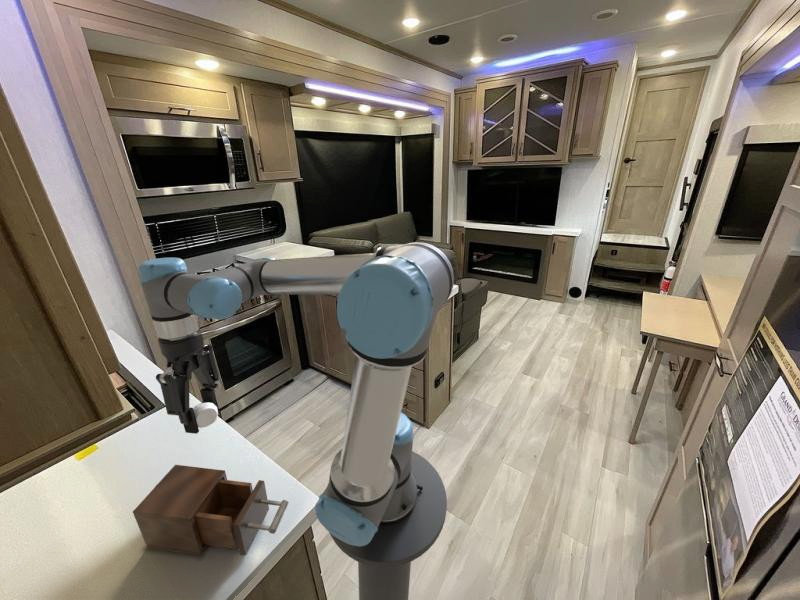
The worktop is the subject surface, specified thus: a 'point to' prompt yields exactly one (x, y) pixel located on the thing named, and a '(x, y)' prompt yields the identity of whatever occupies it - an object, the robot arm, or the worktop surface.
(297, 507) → the worktop surface
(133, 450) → the worktop surface
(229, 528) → the drawer
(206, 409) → the white rounded lump
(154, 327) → the robot arm
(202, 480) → the cabinet
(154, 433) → the worktop surface
